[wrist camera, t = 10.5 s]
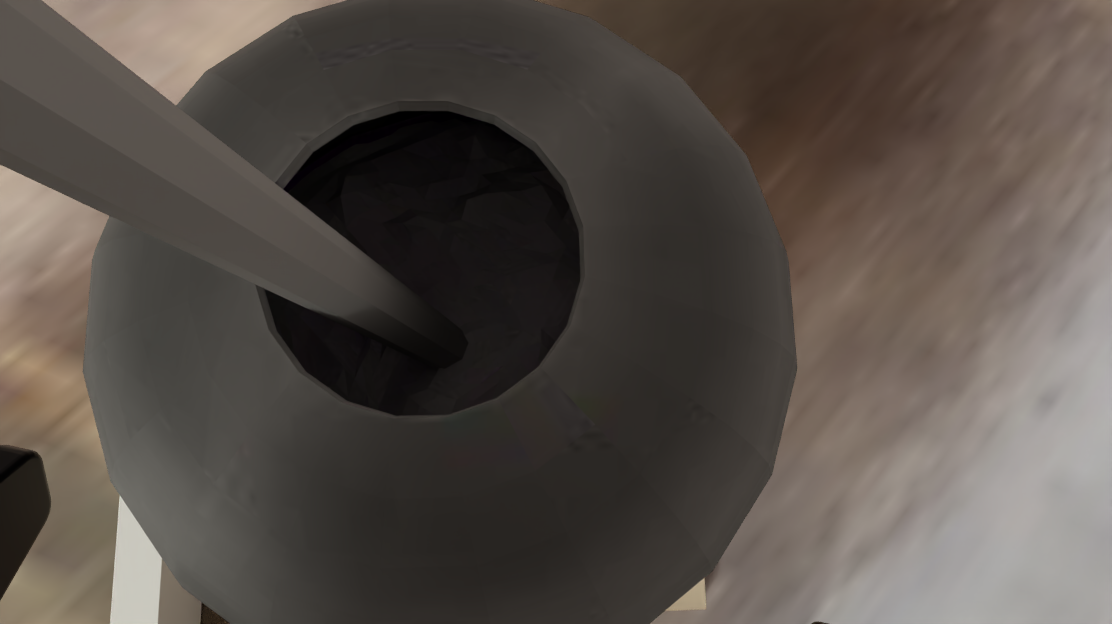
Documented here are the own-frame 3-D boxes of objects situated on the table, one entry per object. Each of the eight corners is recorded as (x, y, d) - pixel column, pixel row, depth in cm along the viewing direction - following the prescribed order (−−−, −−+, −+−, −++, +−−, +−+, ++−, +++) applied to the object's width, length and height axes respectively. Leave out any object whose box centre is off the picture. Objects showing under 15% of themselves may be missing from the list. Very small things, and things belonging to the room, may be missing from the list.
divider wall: (195, 706, 20) (150, 740, 17) (153, 707, 20) (101, 742, 17) (226, 154, 22) (190, 115, 20) (188, 154, 22) (148, 115, 20)
